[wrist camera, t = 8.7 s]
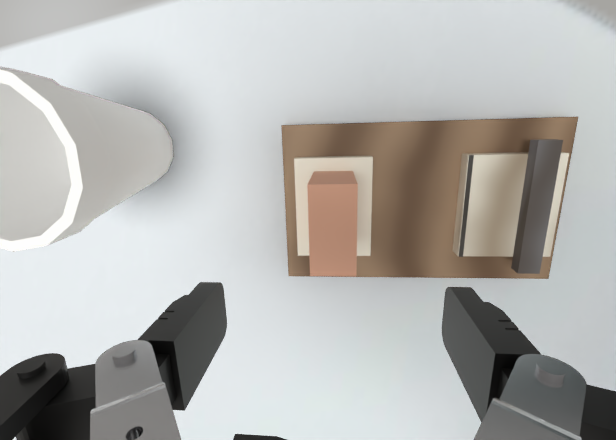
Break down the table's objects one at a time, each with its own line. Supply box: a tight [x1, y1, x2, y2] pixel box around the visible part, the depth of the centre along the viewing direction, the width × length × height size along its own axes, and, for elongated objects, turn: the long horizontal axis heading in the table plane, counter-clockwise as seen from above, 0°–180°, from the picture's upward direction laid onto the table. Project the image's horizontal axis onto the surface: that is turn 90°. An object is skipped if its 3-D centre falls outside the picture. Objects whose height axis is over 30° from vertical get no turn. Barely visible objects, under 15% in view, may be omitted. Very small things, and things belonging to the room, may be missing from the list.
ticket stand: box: [282, 117, 578, 279], centre depth 27 cm, size 22×13×4 cm, turn 92°
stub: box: [294, 156, 373, 276], centre depth 24 cm, size 6×8×7 cm
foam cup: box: [0, 67, 174, 252], centre depth 23 cm, size 10×9×13 cm
